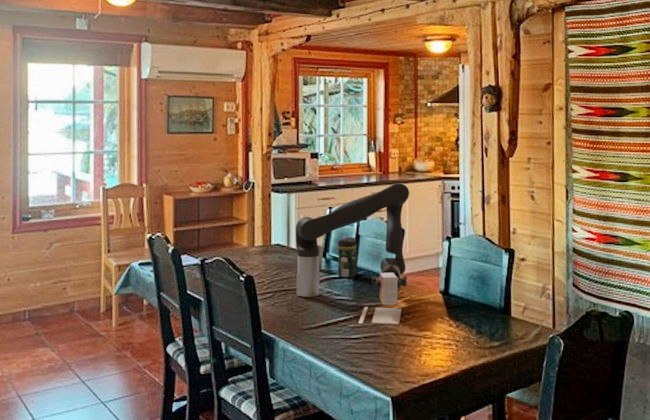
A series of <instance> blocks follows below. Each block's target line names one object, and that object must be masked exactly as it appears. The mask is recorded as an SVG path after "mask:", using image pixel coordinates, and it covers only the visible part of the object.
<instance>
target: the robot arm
mask: <svg viewBox="0 0 650 420" xmlns="http://www.w3.org/2000/svg"><path fill="white" fill-rule="evenodd" d="M409 196H410V190H409V187H407V186H406V184H402V183H393V184H392V185H390V186H387V187H386V188H384V189H382V190H380V191H378V192H376V193H372V194H370V195H369V194H368V195H366V196H363V197H359V198H356V199H353V200H351V201H348V202H346V203H344V204H342V205H340V206H338V207H337V208H335V209H334V210H333V211H331V212H329V213H328V214H325V215H322V216H319V217H315V218H313V217H309V216H303V217H301V218H300V219H299V220H298V221H297V223H296V226H295V247H296V250H297V253H296V254H297V273H296V296H297V297H298V296H299V297H303V298H311V297H312V298H313V297H318V296H320V270H319V248H318V245H319V244H318V239H319V238H321V237H322V236H324V235H327V234H328V233H331V232H332V231H335V230H338V229H341V228H343V227H347V226H350V225H353V224H355V223H358V222H360V221H363V220H365V219H367V218H369V217H370V216H373V215H374V214H376V213H377V212H379V211H381V210H383V209H386V236H385V251H386V253H390V254H393V255H395V256H396V258H395V257H384V258H382V259H381V261H380V270H381V273H394V274H395V275H396V277H397V278H398V284H397V290H398V289H399V288H401V286H402V287H406V286H407V284H408V277H407V276H406V275H405V276H403V277H402V278H401V276H402V275H403V274H404V273H405V272H406V264H405V258H404V253H403V227H402V226H403V225H402V220H401V219H402V218H401V217H402V210H403V205H404V204H405V203H406V202H407V200H408V199H409ZM371 285H372V287H373V286H375V288H377V289H380V276H378V277H377V276H375V275H372V276H371Z"/></svg>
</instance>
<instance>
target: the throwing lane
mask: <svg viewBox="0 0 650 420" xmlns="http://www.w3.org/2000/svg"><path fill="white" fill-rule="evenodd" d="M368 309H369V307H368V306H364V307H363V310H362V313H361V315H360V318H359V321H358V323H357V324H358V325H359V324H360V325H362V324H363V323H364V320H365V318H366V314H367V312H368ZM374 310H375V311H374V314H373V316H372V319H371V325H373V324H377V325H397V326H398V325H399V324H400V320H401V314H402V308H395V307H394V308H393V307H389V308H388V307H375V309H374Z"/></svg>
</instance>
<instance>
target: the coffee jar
mask: <svg viewBox="0 0 650 420" xmlns="http://www.w3.org/2000/svg"><path fill="white" fill-rule="evenodd" d="M337 242H338V243H337V249H338V265H337V266H338V270H337V276H338V277H340V278H343V279H344V278H353V277H355V276H356V275H357V274H358V271H357V269H358V268H357V239H356V238H355V237H345V238H343V239H341V238H340V240H338V241H337Z"/></svg>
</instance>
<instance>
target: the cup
mask: <svg viewBox="0 0 650 420" xmlns="http://www.w3.org/2000/svg"><path fill="white" fill-rule="evenodd" d="M317 245H318V248H319V271H322V265H323V251H324V249H325V248H324V247H323V245H321V244H317Z"/></svg>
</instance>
